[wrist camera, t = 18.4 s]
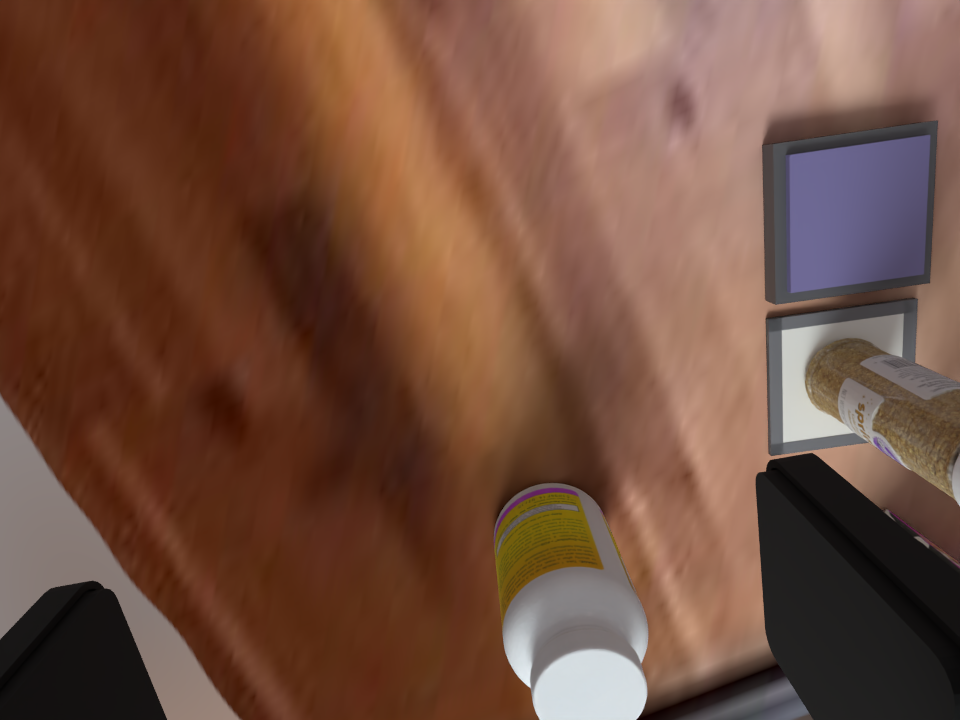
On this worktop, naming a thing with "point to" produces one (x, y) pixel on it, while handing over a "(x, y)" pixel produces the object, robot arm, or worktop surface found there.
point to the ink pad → (849, 212)
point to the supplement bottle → (569, 607)
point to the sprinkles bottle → (892, 407)
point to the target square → (797, 345)
